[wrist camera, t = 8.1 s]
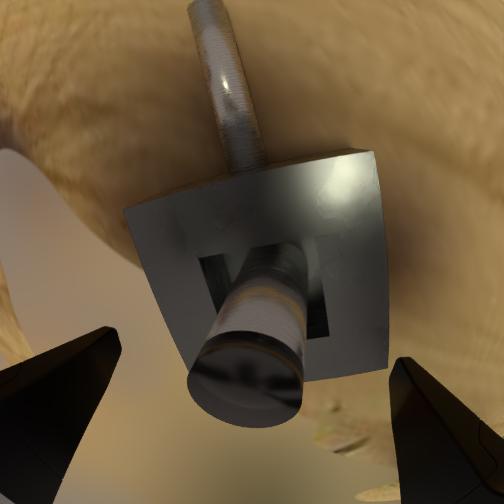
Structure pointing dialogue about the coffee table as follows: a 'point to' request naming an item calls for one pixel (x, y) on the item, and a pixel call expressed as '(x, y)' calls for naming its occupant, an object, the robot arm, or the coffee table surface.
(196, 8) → the chuck block
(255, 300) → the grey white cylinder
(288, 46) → the coffee table surface
